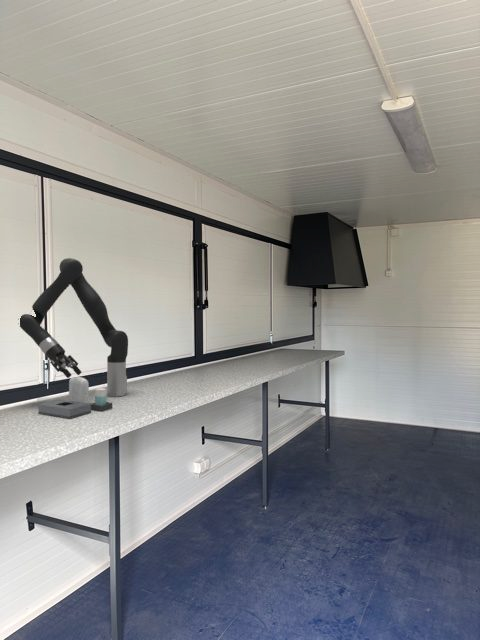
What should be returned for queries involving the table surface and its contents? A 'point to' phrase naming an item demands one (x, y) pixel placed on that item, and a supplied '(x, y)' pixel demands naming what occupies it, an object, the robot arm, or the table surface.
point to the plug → (100, 396)
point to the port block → (64, 408)
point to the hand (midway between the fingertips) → (75, 375)
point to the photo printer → (78, 389)
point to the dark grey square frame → (101, 407)
